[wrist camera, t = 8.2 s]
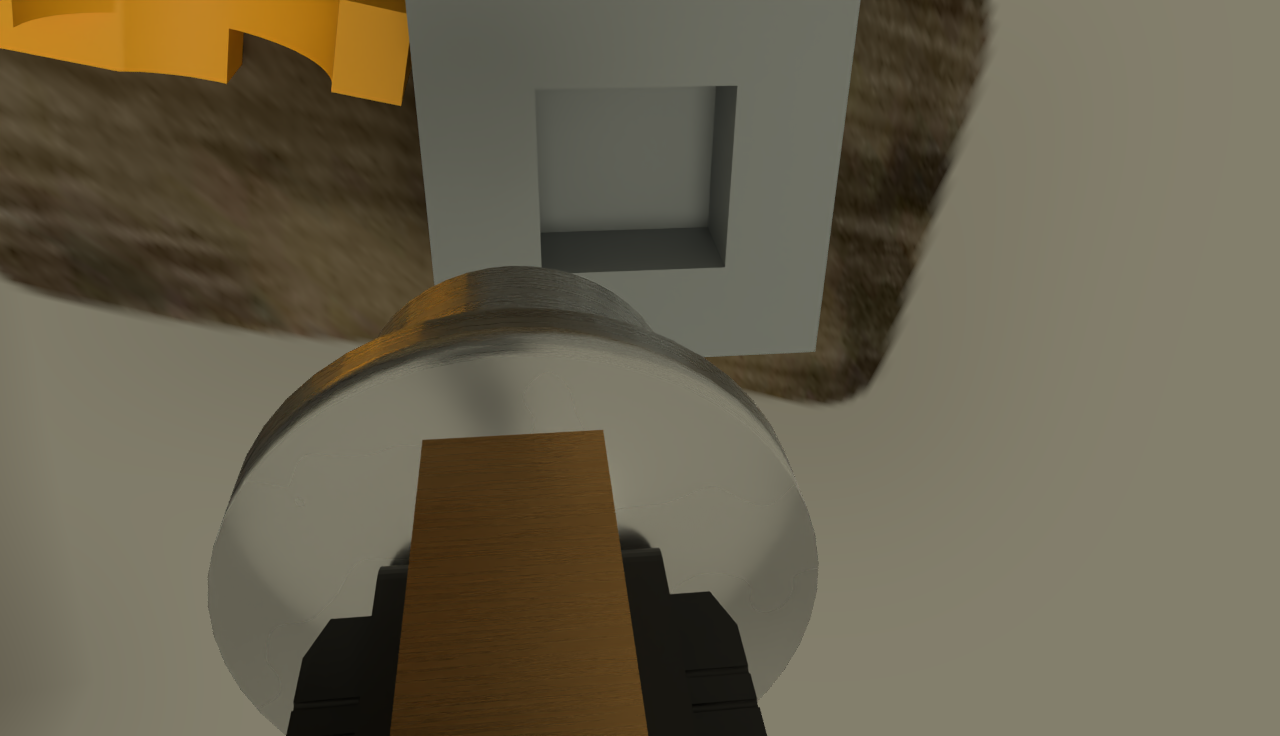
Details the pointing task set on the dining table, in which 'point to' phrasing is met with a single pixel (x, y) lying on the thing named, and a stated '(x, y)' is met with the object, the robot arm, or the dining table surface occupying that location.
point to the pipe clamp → (219, 37)
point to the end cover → (509, 510)
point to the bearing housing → (641, 152)
